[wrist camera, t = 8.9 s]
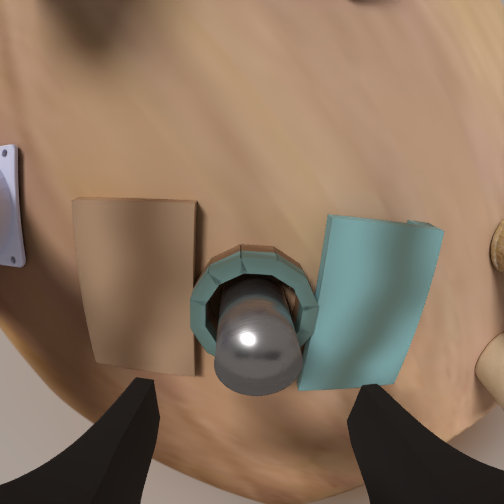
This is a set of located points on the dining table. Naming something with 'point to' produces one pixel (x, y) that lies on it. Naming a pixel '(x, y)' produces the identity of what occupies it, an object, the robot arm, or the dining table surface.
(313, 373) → the hinge
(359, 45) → the dining table surface
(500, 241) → the sprinkles bottle
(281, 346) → the pin
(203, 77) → the dining table surface
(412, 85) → the dining table surface
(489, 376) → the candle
